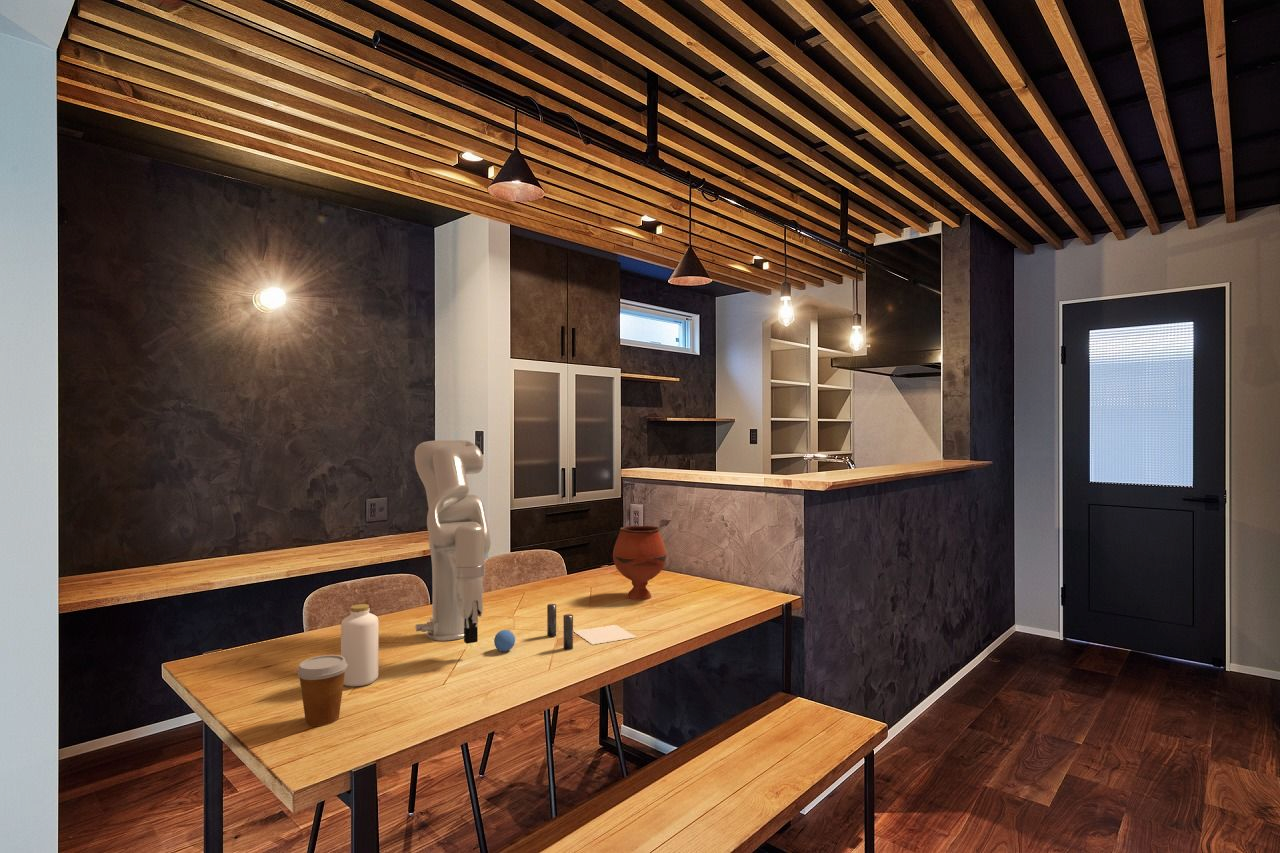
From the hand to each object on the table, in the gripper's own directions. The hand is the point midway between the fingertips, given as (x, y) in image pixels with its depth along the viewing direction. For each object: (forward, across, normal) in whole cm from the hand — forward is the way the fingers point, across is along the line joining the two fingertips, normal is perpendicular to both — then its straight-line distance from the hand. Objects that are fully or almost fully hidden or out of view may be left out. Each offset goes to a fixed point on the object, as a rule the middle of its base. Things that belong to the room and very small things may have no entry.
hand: (470, 642), depth 176 cm
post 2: (+4, +5, +26) cm, 26 cm away
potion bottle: (+4, +4, -28) cm, 28 cm away
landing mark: (+4, -1, +40) cm, 40 cm away
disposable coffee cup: (+5, +23, -36) cm, 43 cm away
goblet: (+3, -35, +70) cm, 78 cm away
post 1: (+4, -8, +26) cm, 27 cm away
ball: (+1, -1, +10) cm, 10 cm away
